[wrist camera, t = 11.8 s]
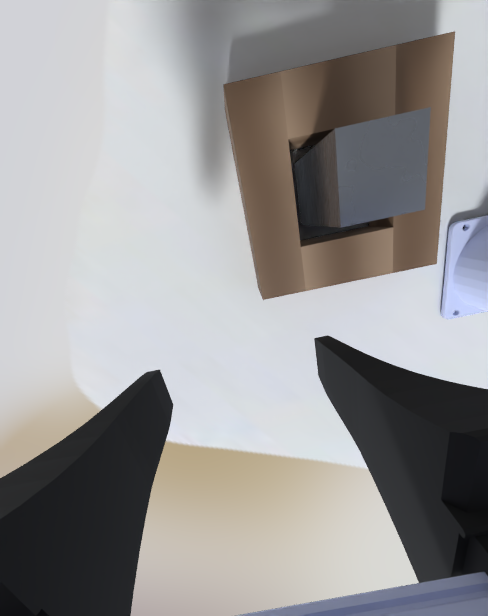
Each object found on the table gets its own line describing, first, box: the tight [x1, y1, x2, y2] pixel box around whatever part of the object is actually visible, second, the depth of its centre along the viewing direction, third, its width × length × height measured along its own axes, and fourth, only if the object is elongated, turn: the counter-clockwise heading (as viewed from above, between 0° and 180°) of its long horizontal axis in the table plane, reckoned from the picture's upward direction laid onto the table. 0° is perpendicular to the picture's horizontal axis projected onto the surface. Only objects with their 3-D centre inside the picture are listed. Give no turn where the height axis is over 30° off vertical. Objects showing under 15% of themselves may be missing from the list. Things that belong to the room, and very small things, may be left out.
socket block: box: [224, 32, 455, 300], centre depth 16 cm, size 12×12×3 cm
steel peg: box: [294, 107, 431, 228], centre depth 14 cm, size 4×4×7 cm
